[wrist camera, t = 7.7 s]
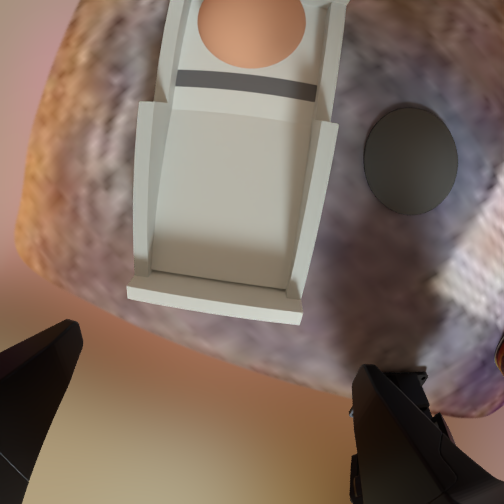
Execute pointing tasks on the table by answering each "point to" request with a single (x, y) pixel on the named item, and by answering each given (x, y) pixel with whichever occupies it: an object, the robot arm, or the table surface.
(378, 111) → the table surface
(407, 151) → the dark grey disc
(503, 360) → the canned food
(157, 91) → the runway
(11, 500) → the robot arm
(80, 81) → the table surface
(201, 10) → the ball
